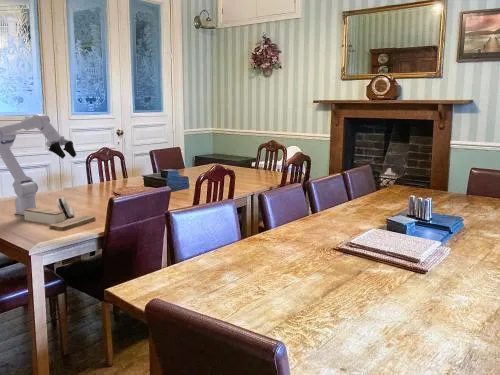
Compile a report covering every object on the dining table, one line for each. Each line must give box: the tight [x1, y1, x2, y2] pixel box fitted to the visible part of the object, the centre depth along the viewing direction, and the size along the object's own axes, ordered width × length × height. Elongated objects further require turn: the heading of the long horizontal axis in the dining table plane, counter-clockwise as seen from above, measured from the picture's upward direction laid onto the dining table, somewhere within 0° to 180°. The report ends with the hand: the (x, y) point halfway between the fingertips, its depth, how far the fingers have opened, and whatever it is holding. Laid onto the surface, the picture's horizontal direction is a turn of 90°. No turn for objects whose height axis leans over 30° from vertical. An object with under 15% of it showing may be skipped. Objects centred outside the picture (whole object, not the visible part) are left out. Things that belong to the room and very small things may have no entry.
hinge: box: [55, 196, 76, 220], centre depth 230 cm, size 17×5×10 cm, turn 23°
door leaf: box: [48, 214, 96, 231], centre depth 214 cm, size 8×20×2 cm, turn 155°
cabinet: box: [23, 207, 65, 225], centre depth 218 cm, size 20×5×5 cm, turn 65°
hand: (69, 156), depth 217 cm, fingers open, 7 cm apart
